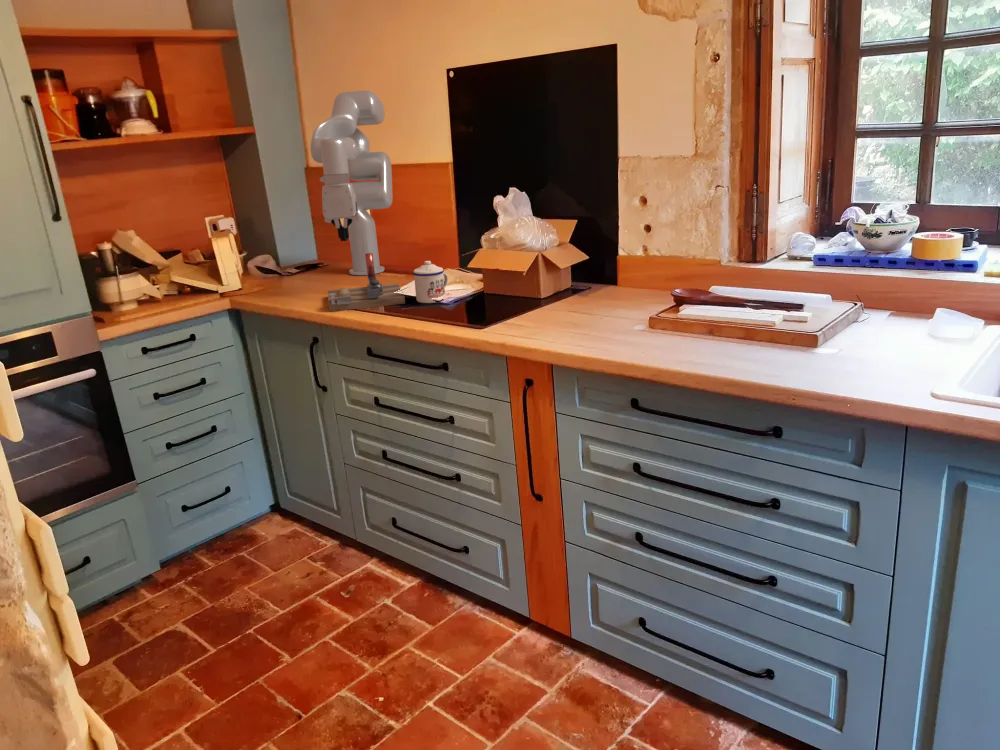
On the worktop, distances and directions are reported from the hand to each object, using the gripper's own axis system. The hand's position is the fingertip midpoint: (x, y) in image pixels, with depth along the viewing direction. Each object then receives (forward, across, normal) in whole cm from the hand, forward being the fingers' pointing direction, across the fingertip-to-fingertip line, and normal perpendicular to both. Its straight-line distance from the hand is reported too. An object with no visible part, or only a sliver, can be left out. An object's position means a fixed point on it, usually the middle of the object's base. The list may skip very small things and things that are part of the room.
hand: (344, 240), depth 237 cm
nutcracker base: (+17, +8, -12) cm, 22 cm away
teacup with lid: (+17, +29, -14) cm, 36 cm away
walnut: (+15, +3, -20) cm, 26 cm away
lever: (+14, +10, -9) cm, 20 cm away
